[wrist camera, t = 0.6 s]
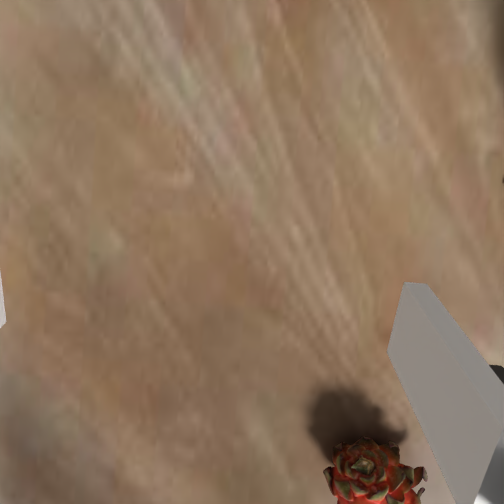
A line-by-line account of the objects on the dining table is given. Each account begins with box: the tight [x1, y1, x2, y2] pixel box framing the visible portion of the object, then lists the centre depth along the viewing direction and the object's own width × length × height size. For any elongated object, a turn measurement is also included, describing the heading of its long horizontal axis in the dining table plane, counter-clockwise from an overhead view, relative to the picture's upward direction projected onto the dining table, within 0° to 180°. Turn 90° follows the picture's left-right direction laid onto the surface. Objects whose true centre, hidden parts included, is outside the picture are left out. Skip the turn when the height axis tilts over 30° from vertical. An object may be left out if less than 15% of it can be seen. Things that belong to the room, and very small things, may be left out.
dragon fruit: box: [323, 437, 427, 504], centre depth 48 cm, size 8×8×12 cm
